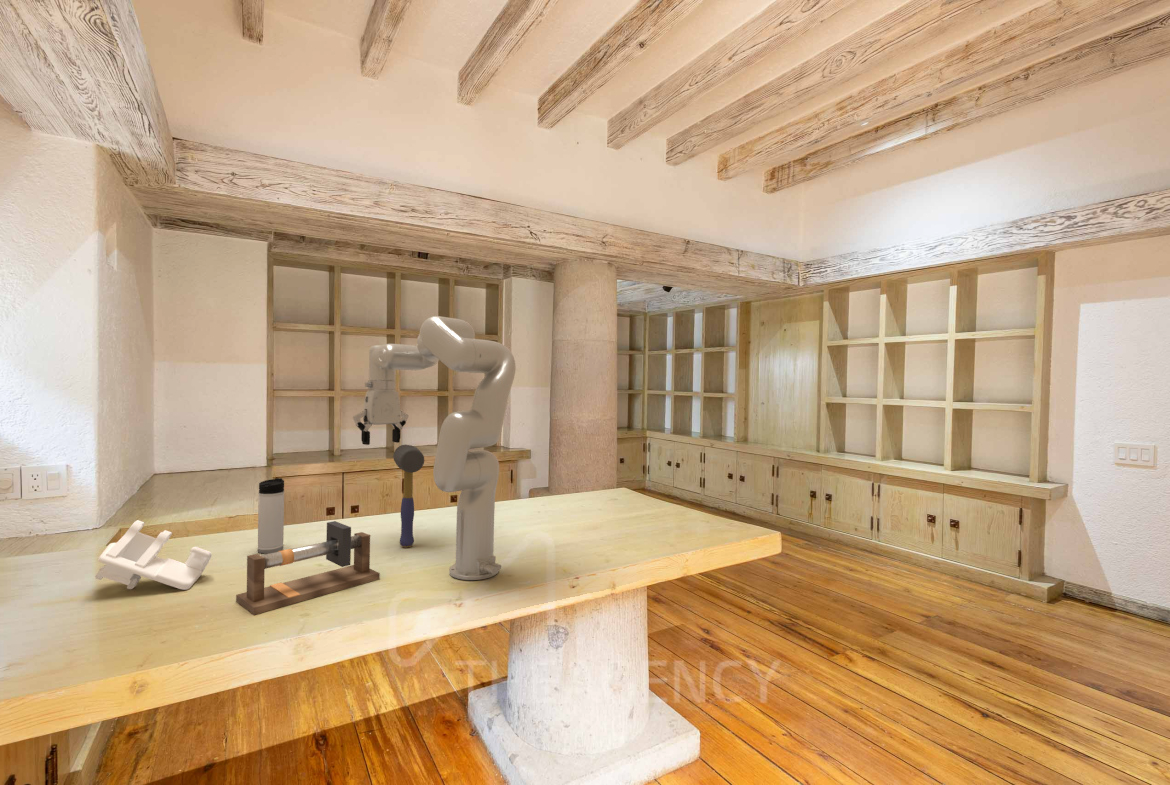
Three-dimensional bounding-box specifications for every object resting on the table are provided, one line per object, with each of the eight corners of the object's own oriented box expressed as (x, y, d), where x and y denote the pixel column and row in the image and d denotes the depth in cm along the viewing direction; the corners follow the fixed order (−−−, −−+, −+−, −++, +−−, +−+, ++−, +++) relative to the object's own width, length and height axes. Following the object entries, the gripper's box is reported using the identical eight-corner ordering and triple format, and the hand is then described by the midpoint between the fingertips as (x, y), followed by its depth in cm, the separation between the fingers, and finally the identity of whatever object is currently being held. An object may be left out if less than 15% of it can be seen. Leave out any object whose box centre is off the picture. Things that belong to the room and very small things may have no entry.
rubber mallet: (424, 551, 155) (426, 447, 155) (397, 554, 152) (399, 448, 151) (415, 539, 166) (417, 442, 166) (389, 542, 163) (391, 443, 162)
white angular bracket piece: (189, 595, 132) (218, 546, 134) (173, 614, 122) (205, 560, 124) (98, 565, 126) (131, 513, 128) (73, 582, 115) (109, 526, 117)
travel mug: (288, 547, 155) (290, 478, 155) (273, 554, 149) (274, 482, 148) (268, 546, 156) (269, 477, 156) (252, 553, 149) (253, 481, 149)
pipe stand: (358, 569, 139) (359, 528, 139) (379, 579, 133) (380, 536, 133) (236, 601, 117) (236, 553, 117) (253, 614, 111) (254, 563, 111)
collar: (334, 557, 133) (334, 521, 133) (350, 564, 128) (351, 527, 128) (326, 559, 131) (326, 522, 131) (342, 567, 126) (342, 528, 126)
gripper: (360, 386, 153) (359, 446, 153) (414, 387, 166) (413, 442, 166) (348, 386, 158) (347, 444, 158) (401, 386, 171) (400, 440, 171)
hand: (381, 443), depth 162 cm, fingers open, 9 cm apart
